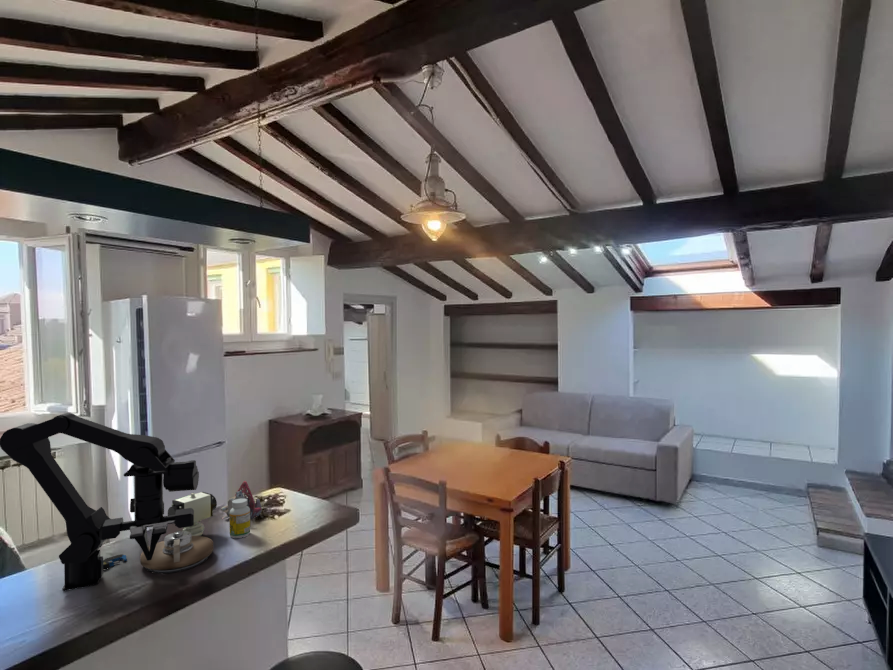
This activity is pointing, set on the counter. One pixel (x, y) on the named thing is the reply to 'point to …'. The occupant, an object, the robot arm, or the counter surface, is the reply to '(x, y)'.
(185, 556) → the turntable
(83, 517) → the robot arm
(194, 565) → the turntable base
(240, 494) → the brake caliper
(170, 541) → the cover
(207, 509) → the pneumatic valve
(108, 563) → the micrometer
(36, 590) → the counter surface
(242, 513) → the supplement bottle
